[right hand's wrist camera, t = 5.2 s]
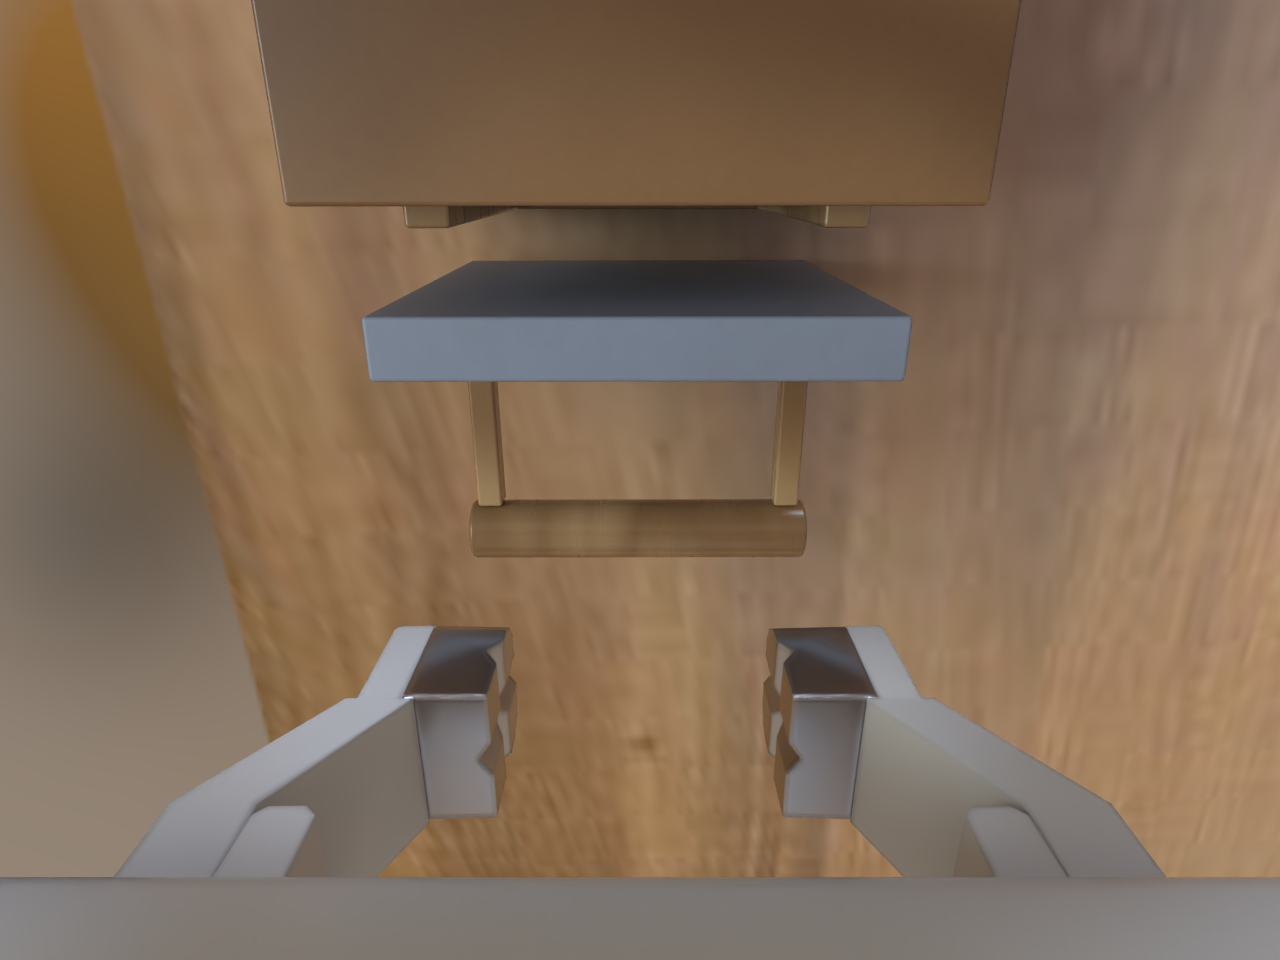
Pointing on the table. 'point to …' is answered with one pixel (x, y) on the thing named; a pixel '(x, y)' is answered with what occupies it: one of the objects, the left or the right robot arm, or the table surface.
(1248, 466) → the table surface
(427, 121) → the cabinet
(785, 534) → the drawer
